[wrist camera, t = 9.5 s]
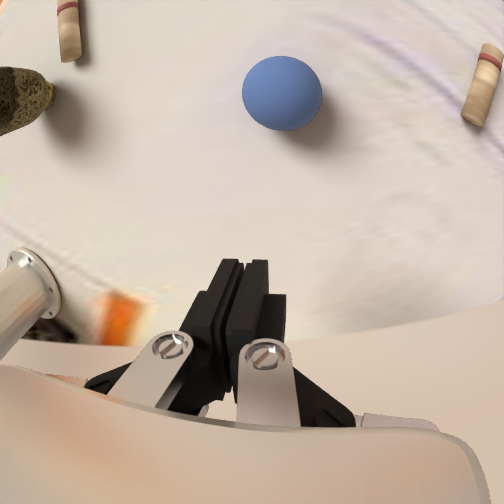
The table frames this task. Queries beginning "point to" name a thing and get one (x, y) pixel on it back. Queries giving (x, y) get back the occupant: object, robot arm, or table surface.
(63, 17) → the rear pin
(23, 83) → the cup
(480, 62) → the front pin
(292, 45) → the table surface
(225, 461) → the robot arm
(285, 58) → the ball
